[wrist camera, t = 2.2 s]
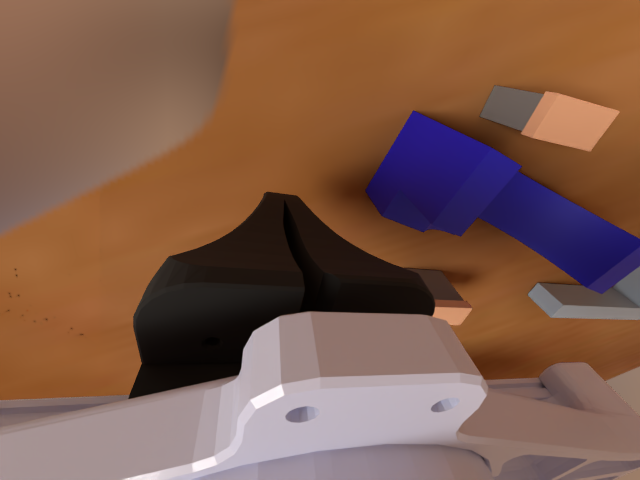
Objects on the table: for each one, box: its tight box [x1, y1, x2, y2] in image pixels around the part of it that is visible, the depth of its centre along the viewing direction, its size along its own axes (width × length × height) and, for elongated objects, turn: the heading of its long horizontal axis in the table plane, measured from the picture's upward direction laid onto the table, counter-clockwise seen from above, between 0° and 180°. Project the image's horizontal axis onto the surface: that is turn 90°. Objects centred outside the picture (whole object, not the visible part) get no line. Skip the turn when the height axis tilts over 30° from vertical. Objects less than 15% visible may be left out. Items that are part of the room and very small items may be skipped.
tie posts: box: [405, 85, 620, 325], centre depth 15 cm, size 13×3×4 cm, turn 168°
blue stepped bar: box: [365, 111, 640, 294], centre depth 14 cm, size 12×4×6 cm, turn 64°
